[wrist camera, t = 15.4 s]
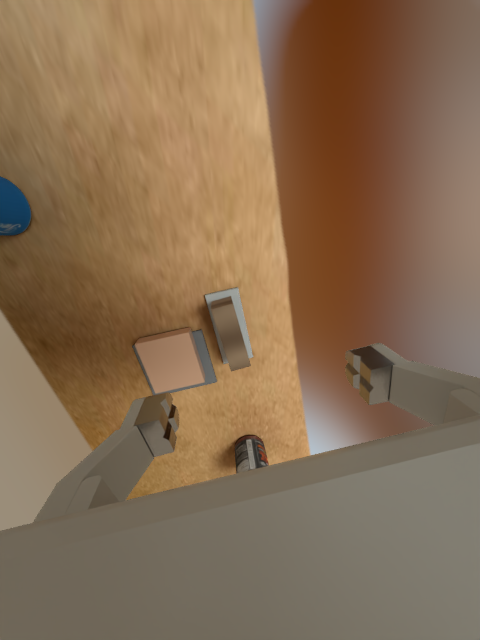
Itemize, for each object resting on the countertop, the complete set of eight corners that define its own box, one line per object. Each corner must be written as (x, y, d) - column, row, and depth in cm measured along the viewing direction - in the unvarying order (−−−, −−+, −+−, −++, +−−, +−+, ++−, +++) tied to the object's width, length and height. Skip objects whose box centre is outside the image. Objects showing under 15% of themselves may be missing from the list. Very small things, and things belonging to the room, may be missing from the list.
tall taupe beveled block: (211, 301, 33) (210, 309, 29) (230, 295, 33) (232, 303, 29) (229, 357, 36) (231, 371, 33) (247, 352, 36) (250, 365, 33)
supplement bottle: (268, 446, 45) (284, 509, 35) (244, 459, 46) (252, 526, 35) (253, 428, 43) (265, 490, 33) (228, 443, 44) (232, 508, 33)
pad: (205, 294, 33) (204, 295, 32) (237, 287, 33) (238, 287, 32) (223, 362, 37) (223, 363, 37) (252, 355, 37) (253, 357, 37)
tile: (134, 344, 32) (155, 393, 35) (188, 332, 32) (204, 382, 35) (139, 338, 34) (158, 385, 37) (190, 326, 34) (205, 374, 37)
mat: (133, 345, 35) (132, 346, 34) (201, 329, 35) (201, 330, 34) (154, 395, 38) (154, 396, 38) (216, 380, 38) (216, 382, 38)
